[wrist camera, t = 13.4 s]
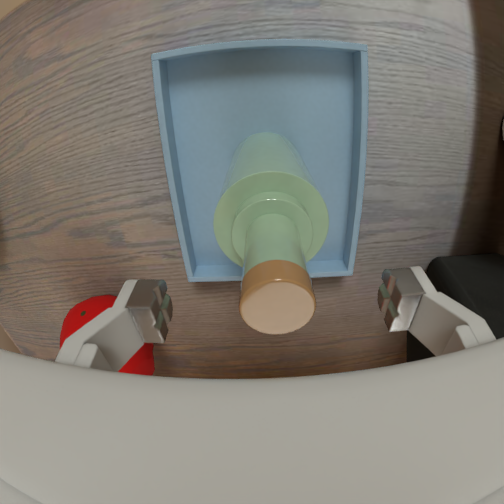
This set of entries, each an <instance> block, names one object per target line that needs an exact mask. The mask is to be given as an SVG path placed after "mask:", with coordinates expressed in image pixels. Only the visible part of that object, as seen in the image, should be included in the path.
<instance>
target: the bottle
mask: <svg viewBox="0 0 504 504" xmlns="http://www.w3.org/2000/svg"><path fill="white" fill-rule="evenodd" d="M213 227H214V233H215V237H216V240H217V242H218V244H219V246H220V248H221V249H222V251H223V252H224V254H225V255H226V256H227V257H228V258H229V259H230V260H232V261H233V262H234V263H236V264H237V265H239V266H241V267H243V276H242V282H241V286H240V299H239V312H240V315H241V317H242V319H243V320H244V322H245V323H246V324H247V325H248V326H249V327H251V328H252V329H254V330H256V331H258V332H261V333H265V334H273V335H279V334H286V333H290V332H293V331H296V330H298V329H300V328H301V327H303V326H304V325H306V324H307V323H308V322H309V321H310V320H311V318H312V317H313V315H314V312H315V309H316V299H315V294H314V290H313V285H312V281H311V278H310V276H309V273H308V269H307V264H306V263H307V262H308V261H309V260H311V259H312V258H313V257H314V256H315V255H316V254H317V253H318V251H319V250H320V249H321V247H322V245H323V244H324V242H325V239H326V237H327V233H328V228H329V215H328V210H327V207H326V204H325V202H324V200H323V198H322V196H321V194H320V192H319V190H318V188H317V186H316V184H315V182H314V180H313V178H312V176H311V174H310V172H309V170H308V169H307V167H306V165H305V163H304V161H303V159H302V157H301V156H300V154H299V152H298V150H297V148H296V147H295V146H294V144H293V143H292V142H291V141H289V140H288V139H287V138H285V137H284V136H281V135H279V134H276V133H271V132H262V133H257V134H253V135H251V136H249V137H247V138H246V139H244V140H243V141H242V142H241V143H240V144H239V145H238V146H237V147H236V149H235V151H234V153H233V155H232V158H231V161H230V164H229V168H228V171H227V174H226V177H225V180H224V183H223V186H222V190H221V193H220V196H219V199H218V202H217V206H216V209H215V213H214V220H213Z"/></svg>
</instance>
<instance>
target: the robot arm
mask: <svg viewBox="0 0 504 504" xmlns="http://www.w3.org/2000/svg"><path fill="white" fill-rule="evenodd" d="M382 280H383V282H384V283H383V284H382V285H381V286H380V287H379V290H378V305H379V308H380V311H381V312H383V313H384V314H386V315H385V318H384V320H385V323H386V325H387V328H388V330H389V332H395V331H404V330H409V332H410V333H411V334H412V335H414V336H415V337H416V338H417V339H418V340H419V341H420V342H421V343H422V344H423V345H424V346H426V347H427V348H428V349H429V350H430V351H431V352H432V353H433V354H434V355H435V356H436V357H431V358H427V359H422V360H417V361H412V362H407V363H402V364H397V365H391V366H385V367H379V368H372V369H366V370H358V371H351V372H343V373H334V374H324V375H313V376H301V377H285V378H262V379H200V378H178V377H162V376H150V375H139V374H130V373H121V372H118V371H119V370H120V369H121V368H122V367H123V366H124V365H125V364H126V363H127V361H128V360H129V359H130V358H131V357H132V356H133V355H134V354H135V353H136V352H137V351H138V350H139V349H140V348H141V347H142V346H143V345H144V343H165V340H166V336H167V333H168V328H167V324H168V323H169V322H170V321H171V318H172V311H173V307H172V301H171V298H170V296H168V295H167V294H166V291H167V285H166V282H165V281H164V280H156V279H139V280H127V281H125V283H124V285H123V287H122V289H121V291H120V293H119V295H118V297H117V299H116V300H115V302H114V304H113V307H112V308H107V309H106V310H105V311H103V312H102V313H101V314H99V315H98V316H96V317H95V318H94V319H92V320H91V321H90V322H88V323H87V324H85V325H84V326H83V327H81V328H80V329H79V330H77V331H76V332H75V333H73V334H72V335H71V336H69V337H68V338H67V339H65V341H64V343H63V345H62V347H61V349H60V351H59V353H58V355H57V357H56V359H55V361H54V362H53V361H48V360H44V359H39V358H35V357H31V356H27V355H23V354H19V353H15V352H11V351H8V350H4V349H1V348H0V504H504V337H503V338H500V339H497V340H496V338H495V336H494V335H493V333H492V331H491V330H490V328H489V326H488V325H487V323H486V321H485V320H484V319H483V318H482V317H480V316H479V315H477V314H475V313H474V312H472V311H471V310H469V309H467V308H466V307H464V306H463V305H461V304H460V303H458V302H456V301H455V300H453V299H451V298H450V297H448V296H446V295H445V294H443V293H442V292H437V291H436V289H435V288H434V286H433V284H432V283H431V281H430V280H429V278H428V277H427V275H426V274H425V272H424V271H423V269H422V268H421V267H420V266H414V267H407V268H396V269H385V270H384V272H383V274H382Z"/></svg>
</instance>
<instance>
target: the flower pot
mask: <svg viewBox="0 0 504 504" xmlns="http://www.w3.org/2000/svg"><path fill="white" fill-rule="evenodd" d="M427 277H428V278H429V280H430V281H431V283H432V284H433V286H434V288H435V289H436V291H437V292H442V293H443V294H445V295H446V296H448V297H450V298H451V299H453V300H455V301H456V302H458V303H460V304H461V305H463V306H464V307H466V308H467V309H469V310H471V311H472V312H474V313H475V314H477V315H479V316H480V317H482V318H483V319H484V320H485V321H486V323H487V325H488V326H489V328H490V330H491V331H492V333H493V335H494V336H495V338H496V340H497V339H500V338H503V337H504V256H503V255H500V254H498V253H493V254H479V255H463V256H448V257H437V258H435V259H433V260H432V262H431V263H430V265H429V268H428V272H427ZM431 357H436V356H435V355H434V354H433V353H432V352H431V351H430V350H429V349H428V348H427V347H426V346H424V345H423V344H422V343H421V342H420V341H419V340H418V339H417V338H416V337H415V336H414V335H412V334H411V333H410V332H409V330H407V362H412V361H417V360H422V359H427V358H431Z"/></svg>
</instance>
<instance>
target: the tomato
mask: <svg viewBox="0 0 504 504" xmlns="http://www.w3.org/2000/svg"><path fill="white" fill-rule="evenodd" d="M116 299H117V296H112V295H103V296H95V297H91V298H89V299H87V300H85V301H83V302H81V303H79V304H76V305H75V306H74V307H73V308H72V309H71V310H70V311H69V312H68V314H67V316H66V318H65V319H64V322H63V326H62V330H61V335H60V349H61V347H62V345H63V343H64V341H65V339H67V338H68V337H69V336H71V335H72V334H73V333H75V332H76V331H77V330H79V329H80V328H81V327H83V326H84V325H85V324H87V323H88V322H90V321H91V320H92V319H94V318H95V317H96V316H98V315H99V314H101V313H102V312H103V311H105V310H106V309H107V308H112V307H113V304H114V302H115V300H116ZM152 350H153V343H144V345H143V346H142V347H141V348H140V349H139V350H138V351H137V352H136V353H135V354H134V355H133V356H132V357H131V358H130V359H129V360H128V361H127V363H126V364H125V365H124V366H123V367H122V368H121V369H120V370H119V371H118V372H121V373H130V374H139V375H150V376H152V375H153V372H154V370H155V368H154V359H153V352H152Z"/></svg>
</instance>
